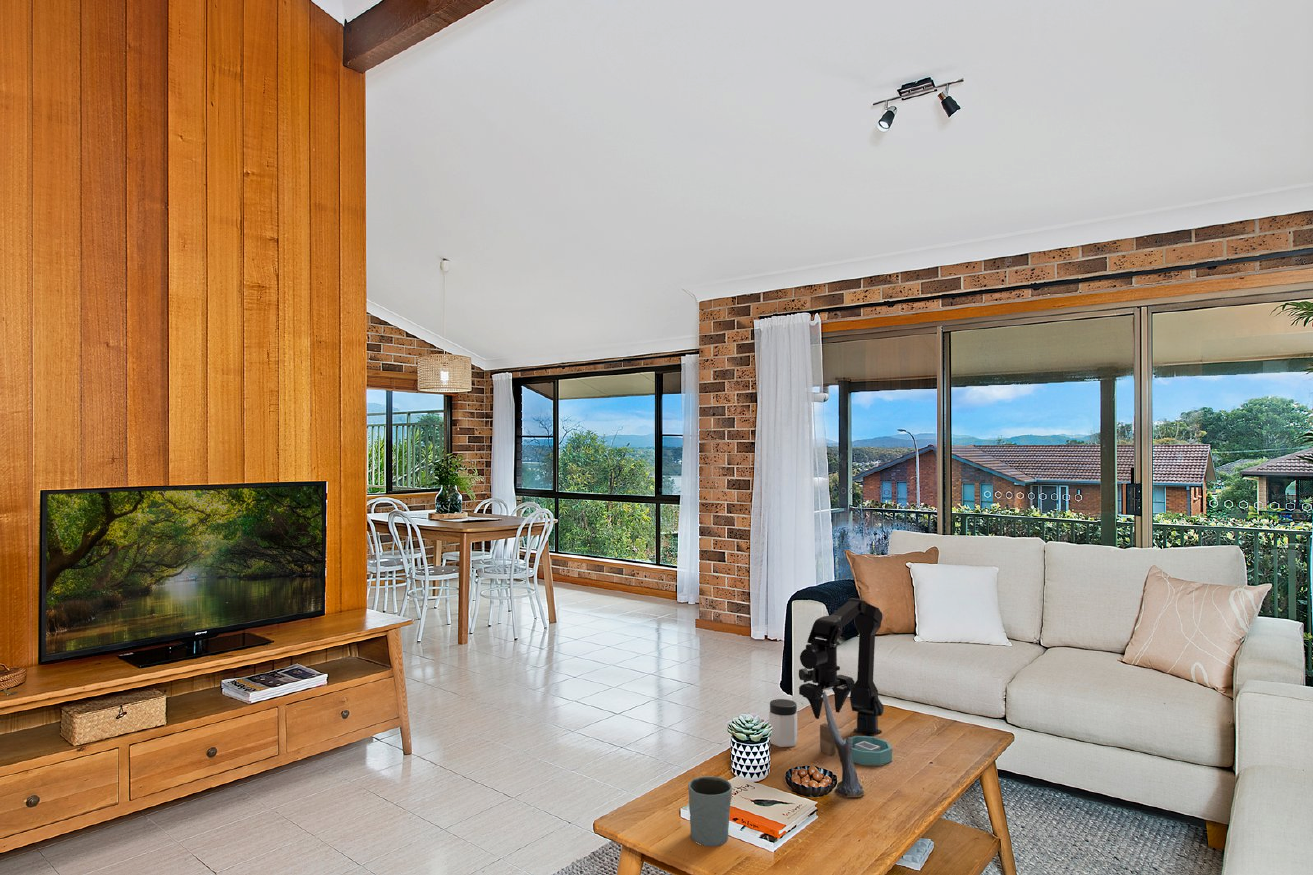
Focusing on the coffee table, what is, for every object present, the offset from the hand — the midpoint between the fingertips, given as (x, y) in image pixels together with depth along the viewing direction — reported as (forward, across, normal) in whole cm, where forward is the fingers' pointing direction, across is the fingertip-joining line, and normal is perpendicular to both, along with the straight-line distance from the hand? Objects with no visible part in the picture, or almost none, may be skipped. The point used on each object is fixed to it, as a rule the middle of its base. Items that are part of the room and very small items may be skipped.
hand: (827, 715), depth 232 cm
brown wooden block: (+11, 0, 0) cm, 11 cm away
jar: (+11, +4, -14) cm, 18 cm away
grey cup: (+11, +62, +18) cm, 66 cm away
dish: (+11, -7, +9) cm, 16 cm away
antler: (+11, +18, +20) cm, 29 cm away
